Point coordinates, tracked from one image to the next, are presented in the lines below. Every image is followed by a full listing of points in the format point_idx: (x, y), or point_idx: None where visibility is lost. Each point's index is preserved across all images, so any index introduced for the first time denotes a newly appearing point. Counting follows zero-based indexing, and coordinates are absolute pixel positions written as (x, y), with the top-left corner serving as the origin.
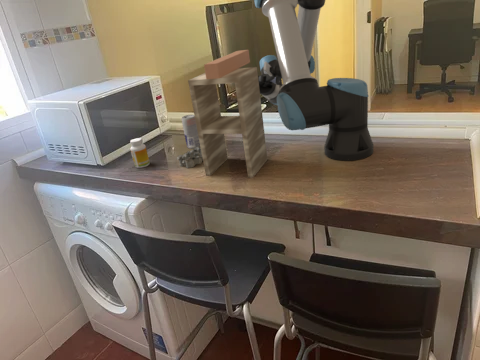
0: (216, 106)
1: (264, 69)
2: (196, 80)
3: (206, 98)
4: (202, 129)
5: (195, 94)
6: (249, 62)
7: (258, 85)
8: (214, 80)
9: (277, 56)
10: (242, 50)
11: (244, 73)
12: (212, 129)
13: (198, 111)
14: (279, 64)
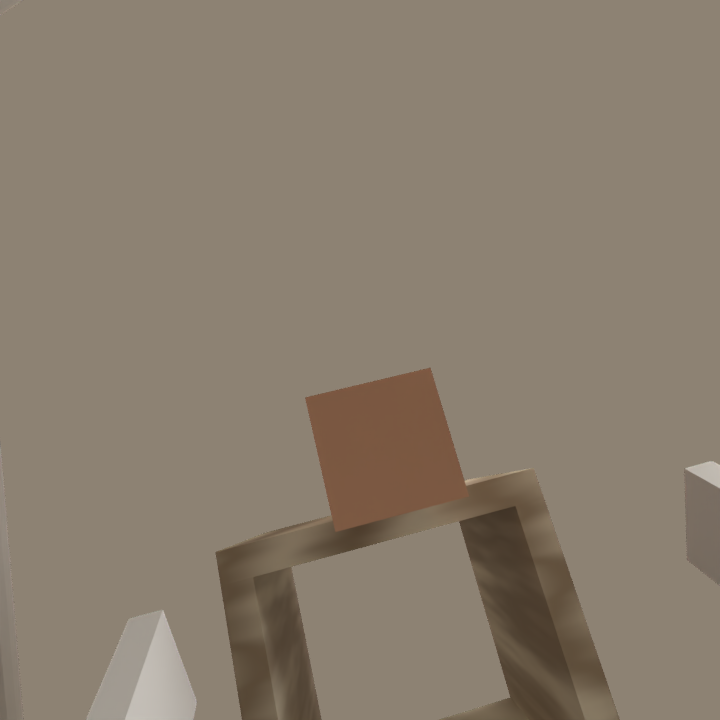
0: (566, 705)
1: (185, 700)
2: None
3: (502, 593)
4: (511, 699)
5: (465, 539)
6: (334, 527)
7: (238, 676)
8: None
9: (9, 566)
10: (365, 386)
11: (257, 536)
12: (463, 714)
13: (485, 611)
14: (15, 638)
